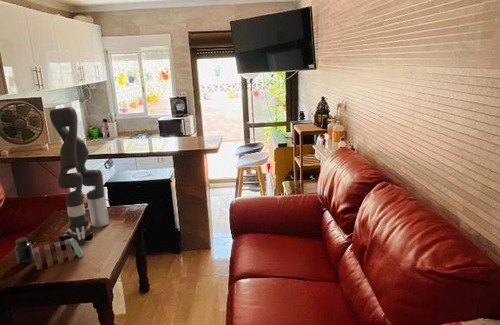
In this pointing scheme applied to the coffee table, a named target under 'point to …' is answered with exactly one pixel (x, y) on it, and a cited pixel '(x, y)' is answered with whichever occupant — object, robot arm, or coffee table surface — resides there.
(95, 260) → the coffee table surface
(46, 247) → the domino
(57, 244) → the domino
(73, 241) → the domino
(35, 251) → the domino
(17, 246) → the supplement bottle
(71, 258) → the domino
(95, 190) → the robot arm
